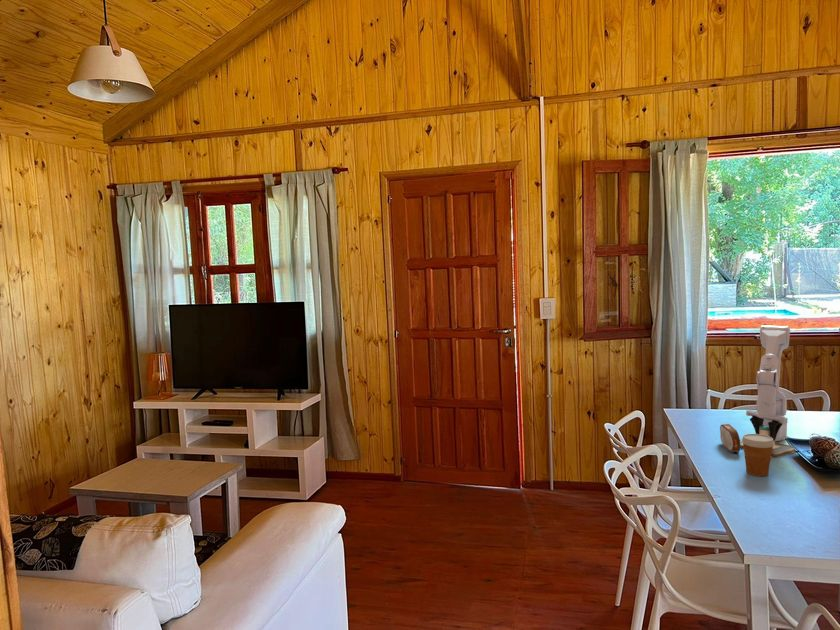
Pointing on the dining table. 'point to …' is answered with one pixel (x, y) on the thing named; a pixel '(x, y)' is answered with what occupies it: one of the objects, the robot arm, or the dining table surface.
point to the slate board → (778, 449)
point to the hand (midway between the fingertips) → (765, 438)
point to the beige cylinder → (764, 430)
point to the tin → (730, 438)
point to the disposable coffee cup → (757, 453)
